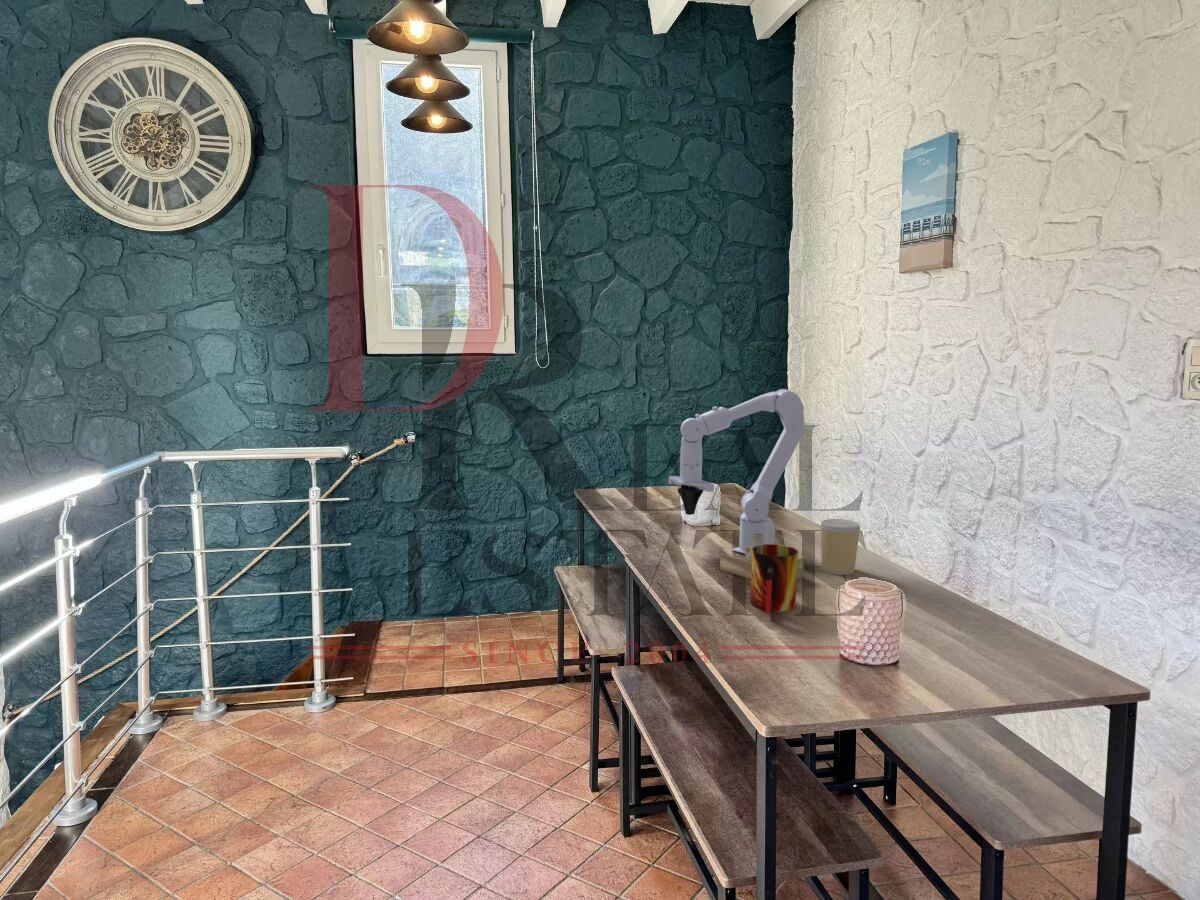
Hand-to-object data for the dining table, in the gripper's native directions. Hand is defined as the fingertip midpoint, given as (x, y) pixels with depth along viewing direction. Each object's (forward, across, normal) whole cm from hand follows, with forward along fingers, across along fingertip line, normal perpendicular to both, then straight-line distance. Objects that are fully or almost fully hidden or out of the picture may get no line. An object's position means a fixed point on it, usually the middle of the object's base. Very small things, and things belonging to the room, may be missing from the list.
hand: (689, 514), depth 214 cm
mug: (+10, +42, -18) cm, 47 cm away
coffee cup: (+10, +36, +15) cm, 40 cm away
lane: (+10, +25, -2) cm, 27 cm away
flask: (+10, +25, -3) cm, 27 cm away
